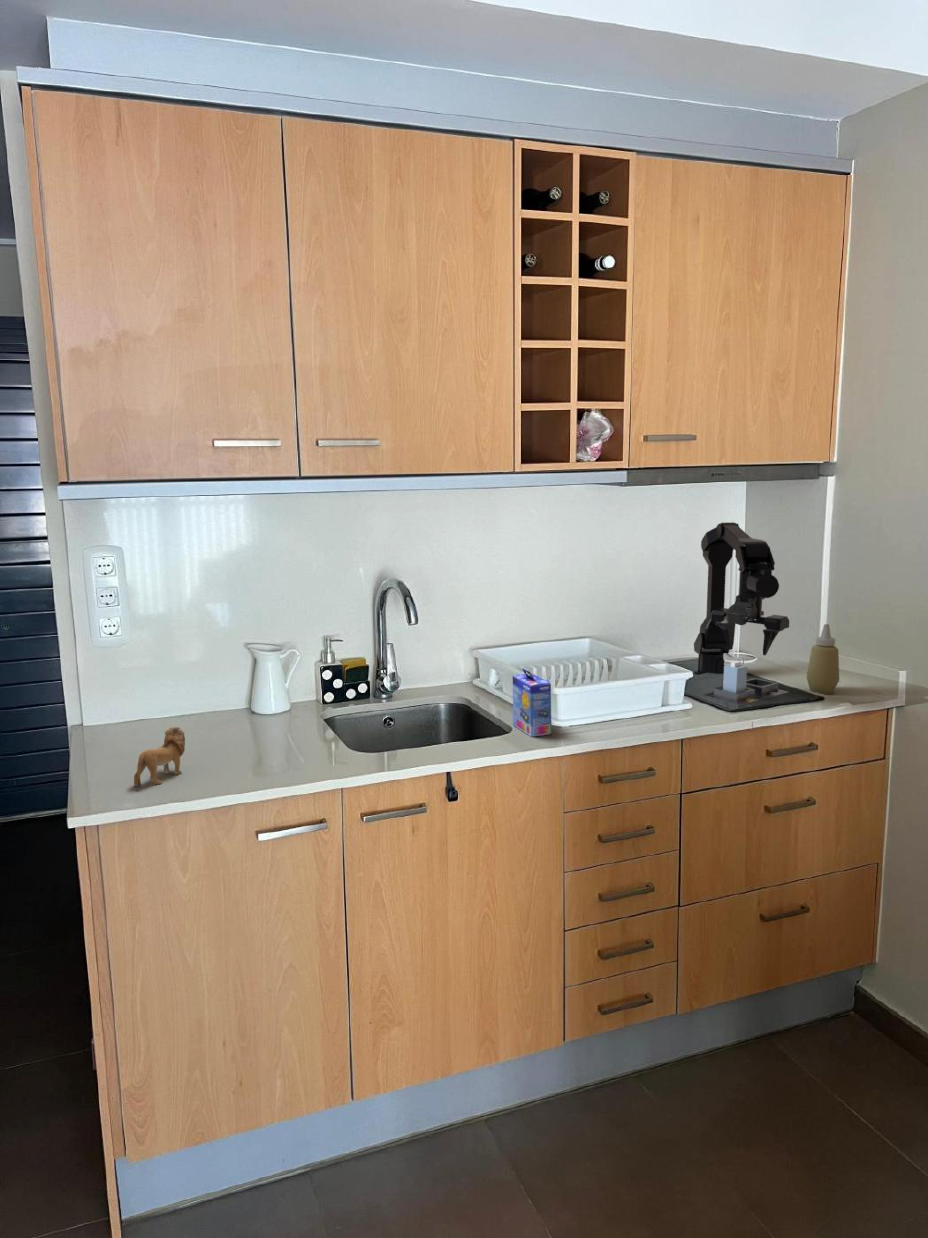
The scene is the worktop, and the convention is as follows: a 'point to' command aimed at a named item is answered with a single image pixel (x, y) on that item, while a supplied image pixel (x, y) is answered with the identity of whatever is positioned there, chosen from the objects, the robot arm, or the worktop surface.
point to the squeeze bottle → (823, 664)
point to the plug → (735, 677)
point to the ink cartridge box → (532, 704)
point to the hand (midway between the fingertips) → (747, 652)
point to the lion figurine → (162, 756)
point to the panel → (748, 692)
